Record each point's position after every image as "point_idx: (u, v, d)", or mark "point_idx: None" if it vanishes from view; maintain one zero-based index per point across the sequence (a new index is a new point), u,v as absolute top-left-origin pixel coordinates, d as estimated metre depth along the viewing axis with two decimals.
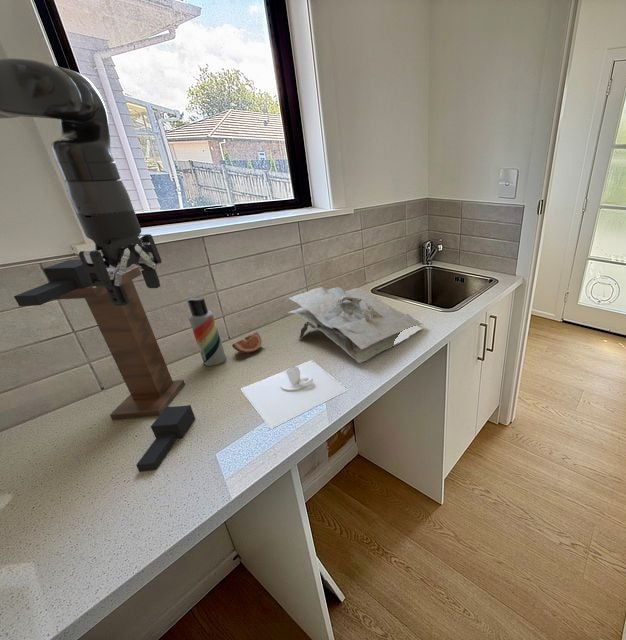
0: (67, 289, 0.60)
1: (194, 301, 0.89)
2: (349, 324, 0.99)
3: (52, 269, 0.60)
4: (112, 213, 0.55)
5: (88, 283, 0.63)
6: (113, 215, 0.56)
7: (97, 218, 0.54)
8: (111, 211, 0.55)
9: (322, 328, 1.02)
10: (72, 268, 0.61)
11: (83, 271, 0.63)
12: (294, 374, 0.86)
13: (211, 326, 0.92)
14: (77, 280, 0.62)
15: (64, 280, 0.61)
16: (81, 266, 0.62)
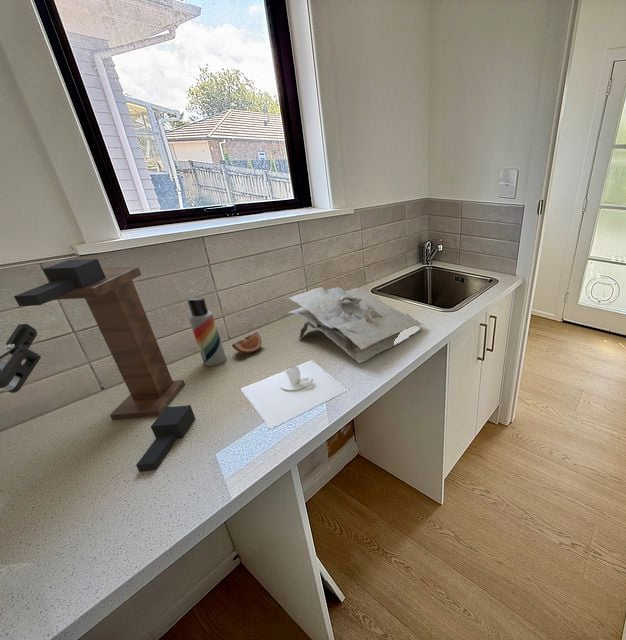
0: (67, 289, 0.60)
1: (194, 301, 0.89)
2: (349, 324, 0.99)
3: (52, 269, 0.60)
4: None
5: (88, 283, 0.63)
6: None
7: None
8: None
9: (322, 328, 1.02)
10: (72, 268, 0.61)
11: (83, 271, 0.63)
12: (294, 374, 0.86)
13: (211, 326, 0.92)
14: (77, 280, 0.62)
15: (64, 280, 0.61)
16: (81, 266, 0.62)
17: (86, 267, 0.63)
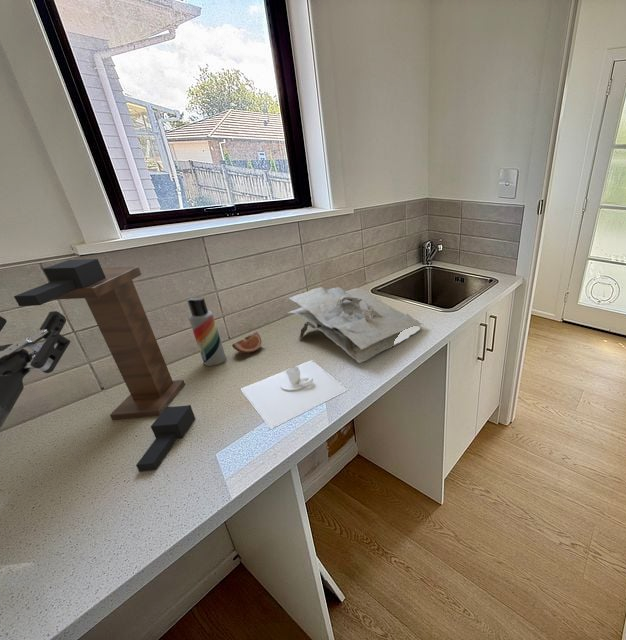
0: (67, 289, 0.60)
1: (194, 301, 0.89)
2: (349, 324, 0.99)
3: (52, 269, 0.60)
4: None
5: (88, 283, 0.63)
6: None
7: None
8: None
9: (322, 328, 1.02)
10: (72, 268, 0.61)
11: (83, 271, 0.63)
12: (294, 374, 0.86)
13: (211, 326, 0.92)
14: (77, 280, 0.62)
15: (64, 280, 0.61)
16: (81, 266, 0.62)
17: (86, 267, 0.63)
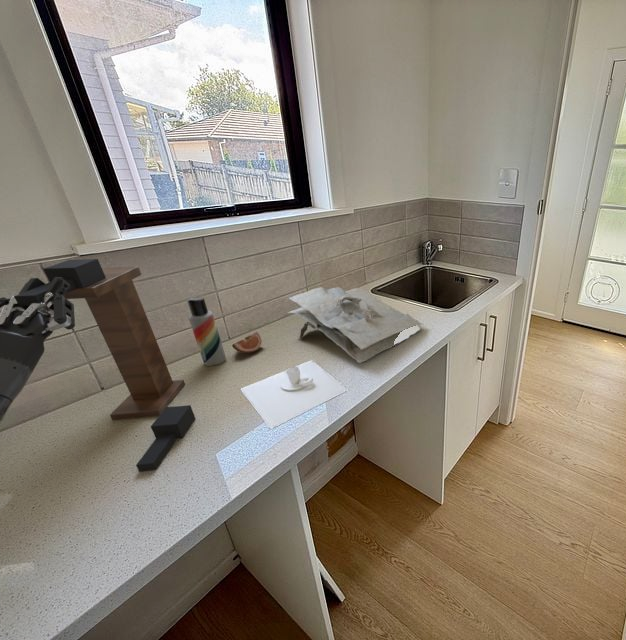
0: None
1: (194, 301, 0.89)
2: (349, 324, 0.99)
3: (52, 269, 0.60)
4: None
5: (88, 283, 0.63)
6: None
7: None
8: None
9: (322, 328, 1.02)
10: (72, 268, 0.61)
11: (83, 271, 0.63)
12: (294, 374, 0.86)
13: (211, 326, 0.92)
14: (77, 280, 0.62)
15: None
16: (81, 266, 0.62)
17: (86, 267, 0.63)
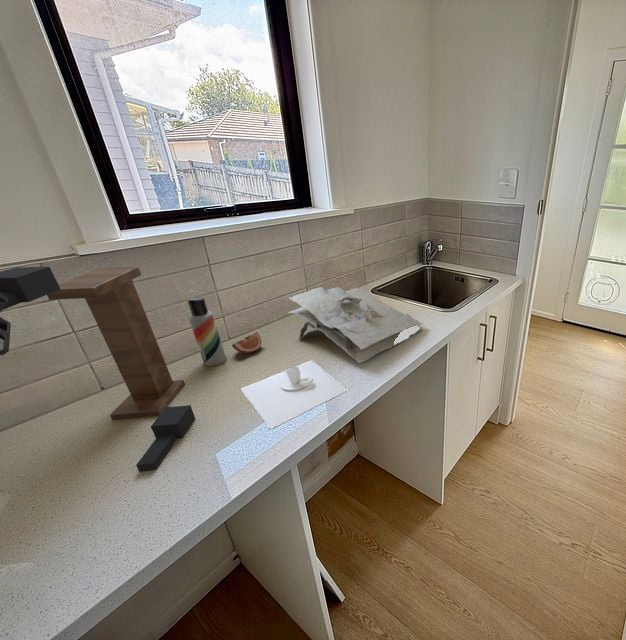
0: (6, 304, 0.50)
1: (194, 301, 0.89)
2: (349, 324, 0.99)
3: None
4: None
5: (35, 296, 0.53)
6: None
7: None
8: None
9: (322, 328, 1.02)
10: (13, 278, 0.50)
11: (29, 282, 0.52)
12: (294, 374, 0.86)
13: (211, 326, 0.92)
14: (21, 292, 0.51)
15: (3, 293, 0.50)
16: (26, 276, 0.52)
17: (33, 276, 0.53)
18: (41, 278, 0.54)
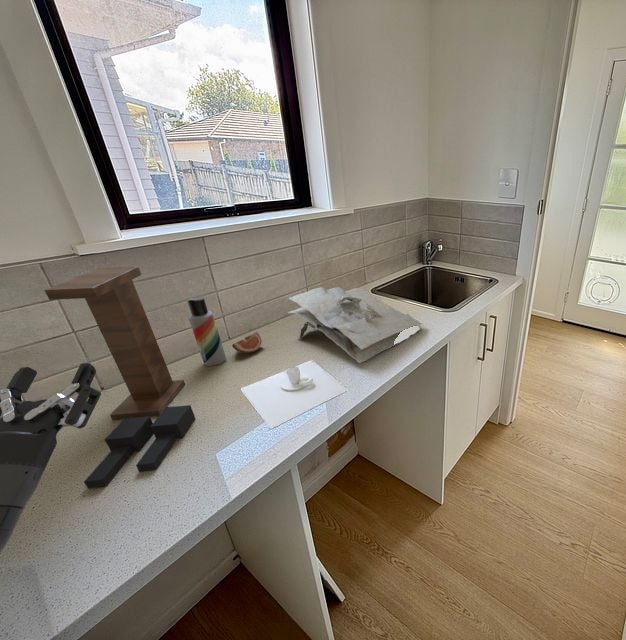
0: (126, 458, 0.66)
1: (194, 301, 0.89)
2: (349, 324, 0.99)
3: (112, 439, 0.66)
4: None
5: (143, 444, 0.69)
6: None
7: None
8: None
9: (322, 328, 1.02)
10: (130, 437, 0.66)
11: (139, 435, 0.68)
12: (294, 374, 0.86)
13: (211, 326, 0.92)
14: (134, 446, 0.67)
15: (123, 448, 0.67)
16: (137, 432, 0.68)
17: (141, 430, 0.69)
18: (145, 428, 0.70)
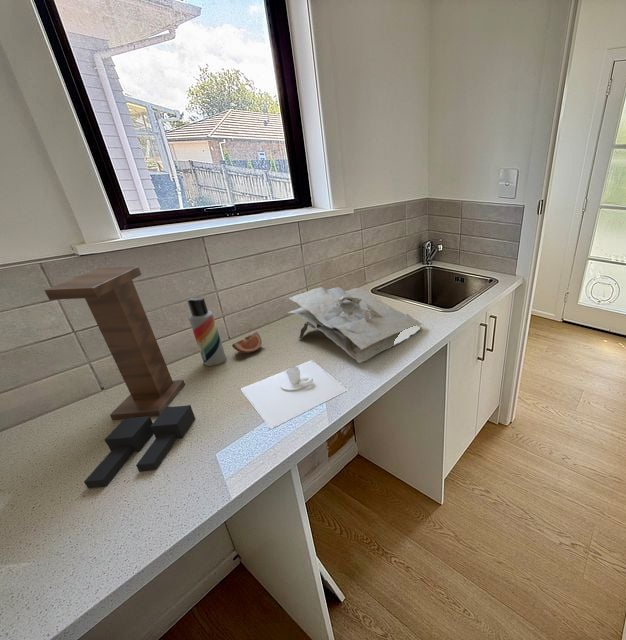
0: (126, 458, 0.66)
1: (194, 301, 0.89)
2: (349, 324, 0.99)
3: (112, 439, 0.66)
4: None
5: (143, 444, 0.69)
6: None
7: None
8: None
9: (322, 328, 1.02)
10: (130, 437, 0.66)
11: (139, 435, 0.68)
12: (294, 374, 0.86)
13: (211, 326, 0.92)
14: (134, 446, 0.67)
15: (123, 448, 0.67)
16: (137, 432, 0.68)
17: (141, 430, 0.69)
18: (145, 428, 0.70)
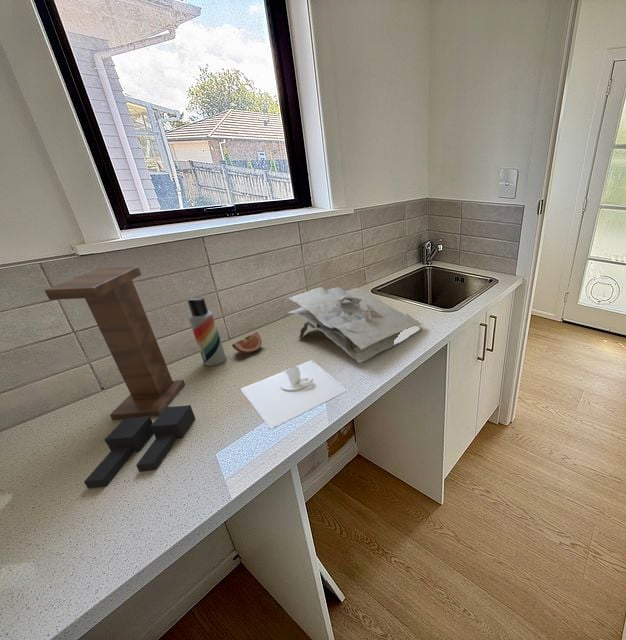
0: (126, 458, 0.66)
1: (194, 301, 0.89)
2: (349, 324, 0.99)
3: (112, 439, 0.66)
4: None
5: (143, 444, 0.69)
6: None
7: None
8: None
9: (322, 328, 1.02)
10: (130, 437, 0.66)
11: (139, 435, 0.68)
12: (294, 374, 0.86)
13: (211, 326, 0.92)
14: (134, 446, 0.67)
15: (123, 448, 0.67)
16: (137, 432, 0.68)
17: (141, 430, 0.69)
18: (145, 428, 0.70)
